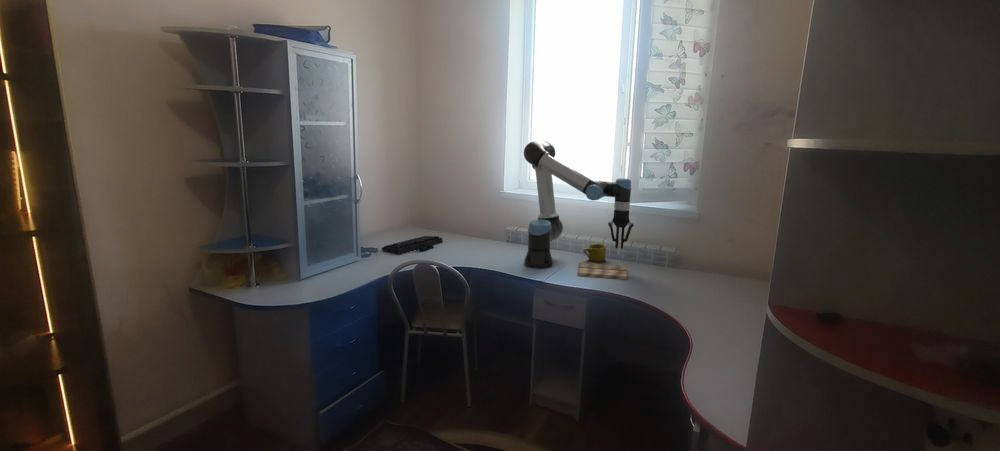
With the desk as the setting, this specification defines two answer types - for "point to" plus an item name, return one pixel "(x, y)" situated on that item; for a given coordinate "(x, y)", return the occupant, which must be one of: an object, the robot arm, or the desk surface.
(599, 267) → the plank
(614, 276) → the floor strip
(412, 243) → the black gun
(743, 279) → the desk surface
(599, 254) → the mug
